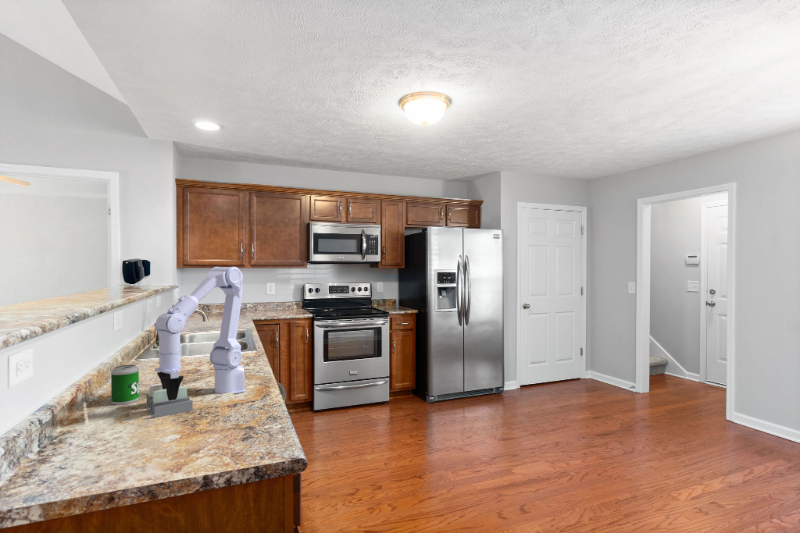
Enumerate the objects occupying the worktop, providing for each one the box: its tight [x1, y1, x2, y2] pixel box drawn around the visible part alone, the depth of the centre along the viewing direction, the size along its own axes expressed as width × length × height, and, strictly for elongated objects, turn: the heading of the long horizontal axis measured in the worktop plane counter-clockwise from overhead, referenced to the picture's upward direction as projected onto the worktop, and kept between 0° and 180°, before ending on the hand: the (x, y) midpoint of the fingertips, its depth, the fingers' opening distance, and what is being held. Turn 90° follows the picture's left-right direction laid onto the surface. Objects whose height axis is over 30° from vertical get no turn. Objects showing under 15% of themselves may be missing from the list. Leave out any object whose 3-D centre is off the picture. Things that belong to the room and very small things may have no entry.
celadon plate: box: [153, 385, 188, 403], centre depth 130 cm, size 9×2×6 cm, turn 128°
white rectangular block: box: [148, 382, 183, 397], centre depth 136 cm, size 9×2×6 cm, turn 128°
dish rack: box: [144, 393, 195, 419], centre depth 131 cm, size 11×16×4 cm
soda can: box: [110, 364, 140, 406], centre depth 137 cm, size 8×8×12 cm
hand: (170, 396), depth 130 cm, fingers open, 6 cm apart
